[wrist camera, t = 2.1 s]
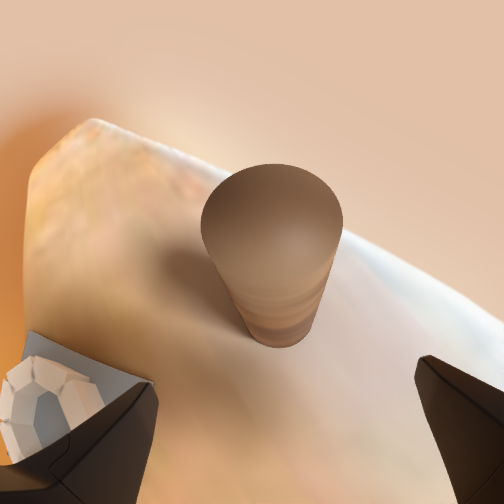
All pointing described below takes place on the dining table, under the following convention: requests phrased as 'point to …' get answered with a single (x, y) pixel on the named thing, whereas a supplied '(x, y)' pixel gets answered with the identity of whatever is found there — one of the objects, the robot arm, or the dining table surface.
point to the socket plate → (54, 395)
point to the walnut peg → (273, 247)
